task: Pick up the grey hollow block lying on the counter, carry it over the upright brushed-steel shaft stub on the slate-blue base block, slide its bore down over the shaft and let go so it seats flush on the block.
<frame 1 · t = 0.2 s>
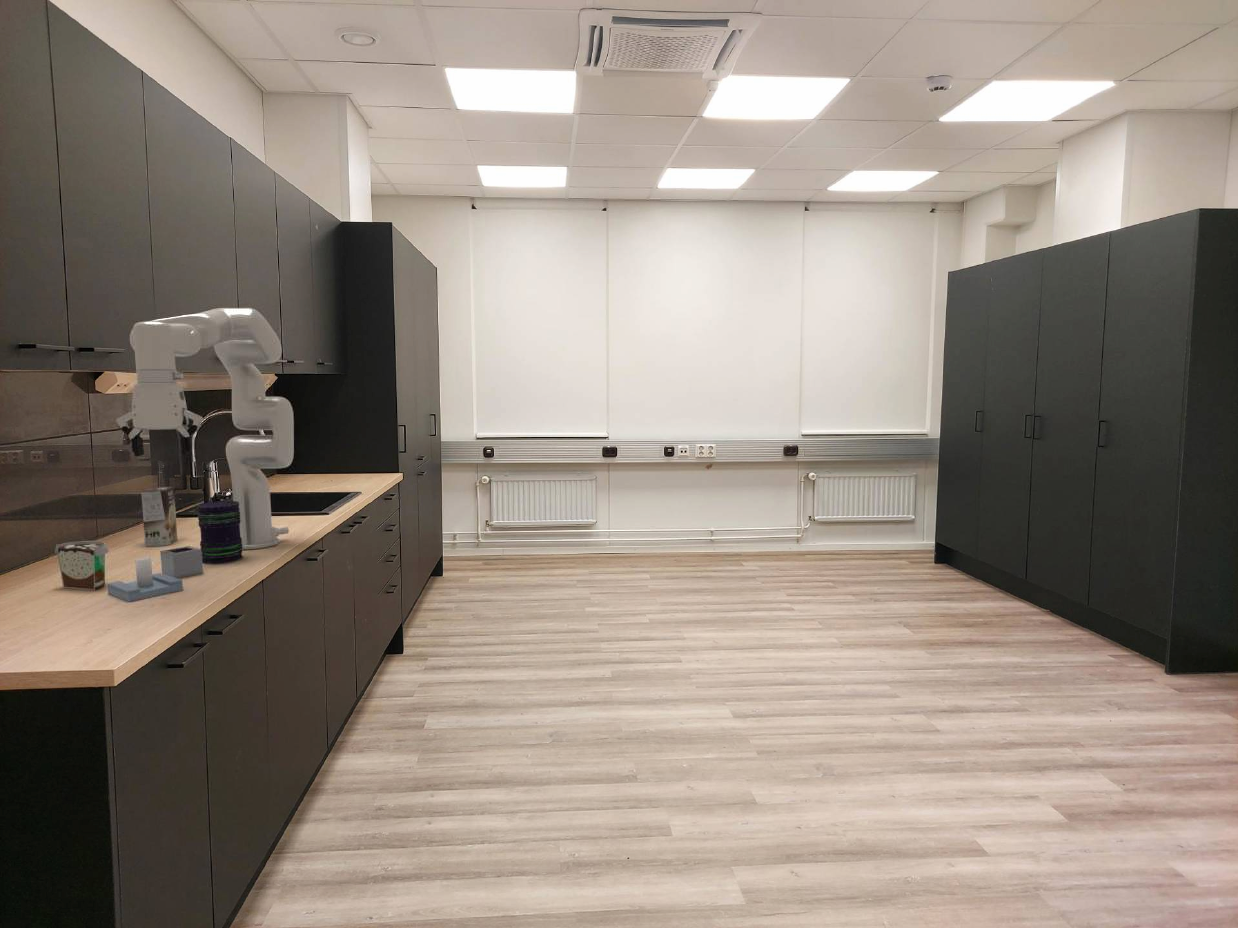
hand: (162, 455, 169), 31 cm above the table, tool pointing down, fingers open, 9 cm apart
grey hollow block: (182, 574, 184), on the table
shaft block: (145, 591, 169), on the table
coffee box: (161, 543, 220), on the table
food container: (91, 586, 175), on the table
dark blue barrel: (222, 560, 199), on the table
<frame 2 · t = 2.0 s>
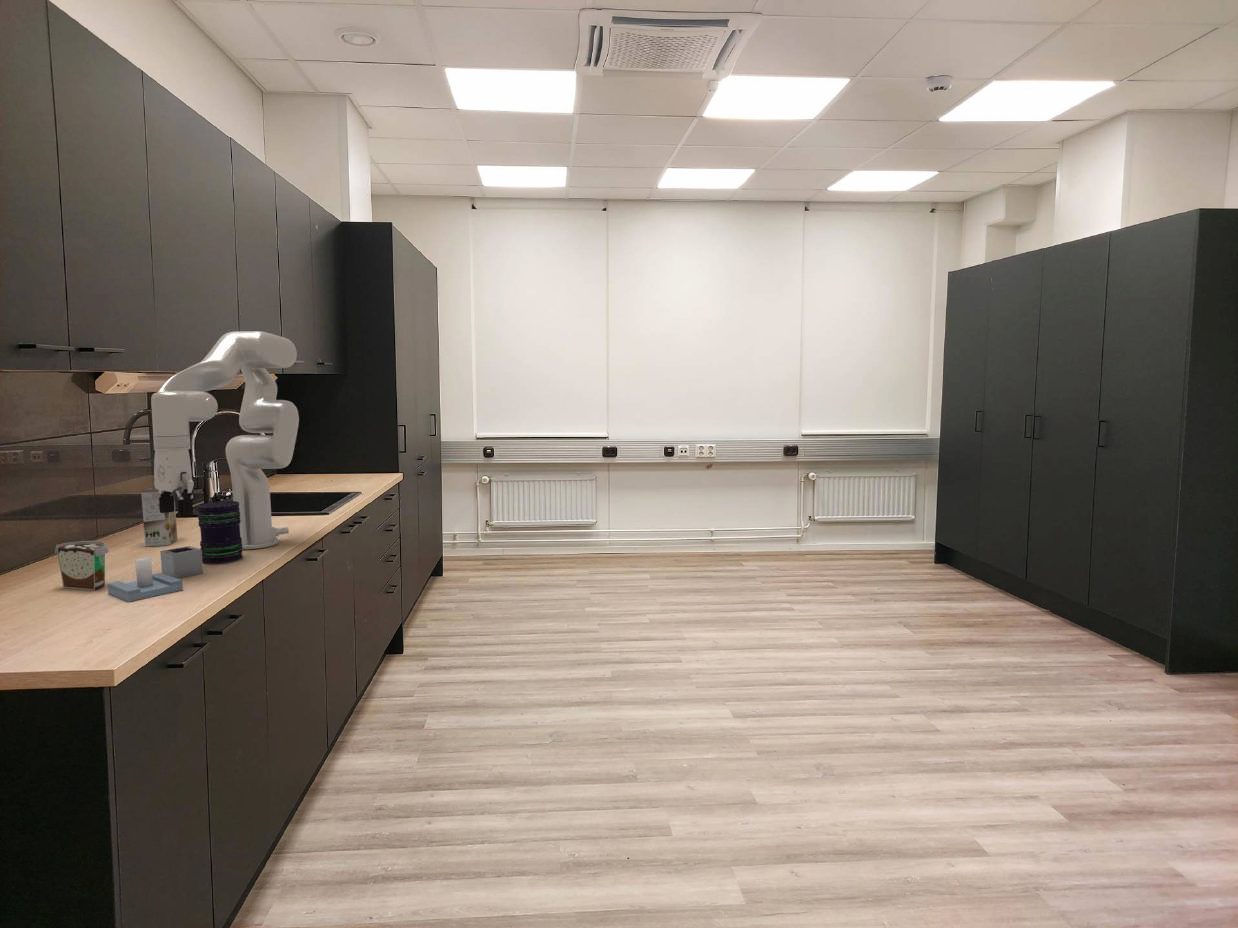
hand: (176, 514, 182), 15 cm above the table, tool pointing down, fingers open, 9 cm apart
nothing on the table moved.
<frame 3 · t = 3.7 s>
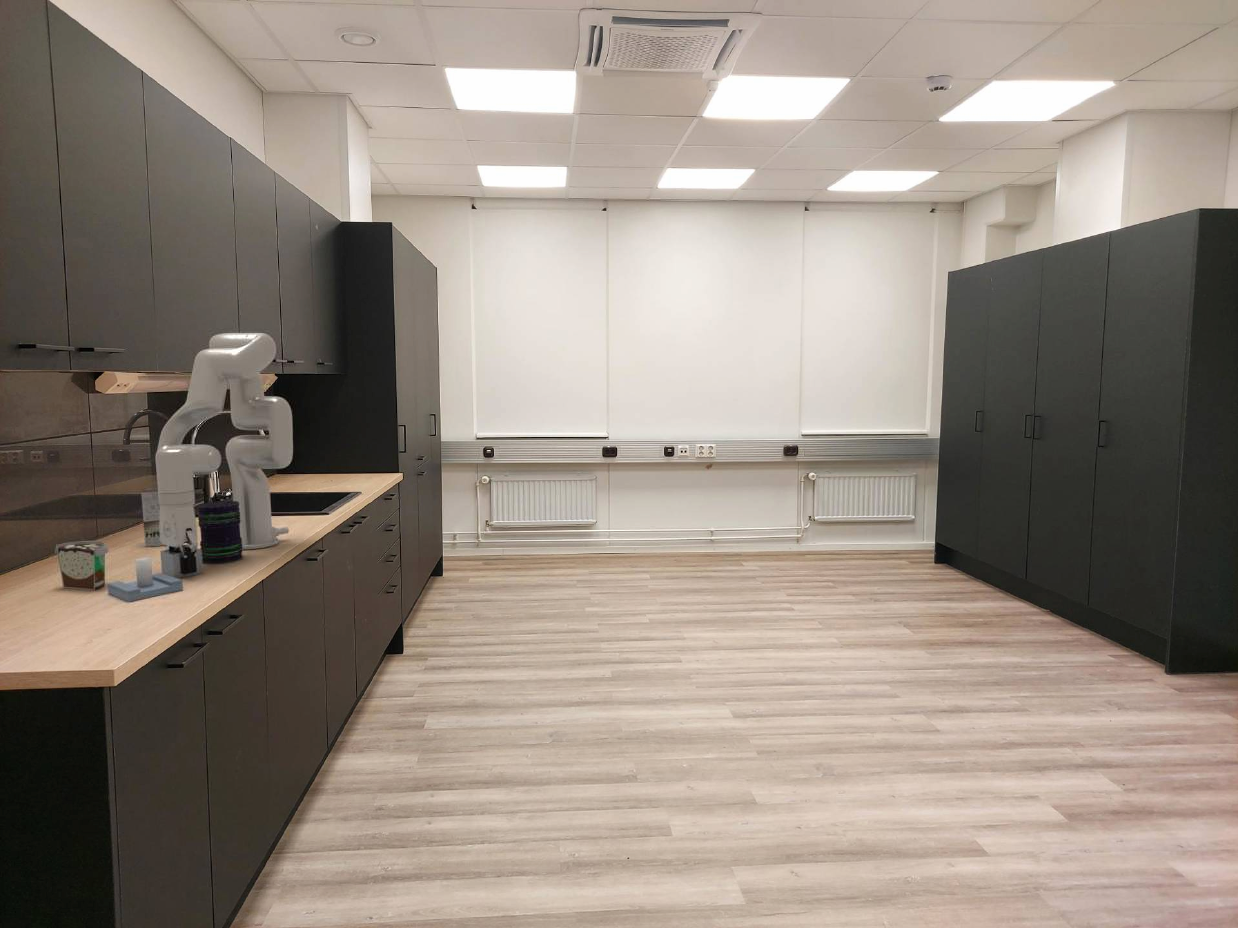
hand: (182, 570, 184), 1 cm above the table, tool pointing down, fingers closed on grey hollow block, 6 cm apart
grey hollow block: (182, 574, 184), on the table, touching gripper
everything else where it was.
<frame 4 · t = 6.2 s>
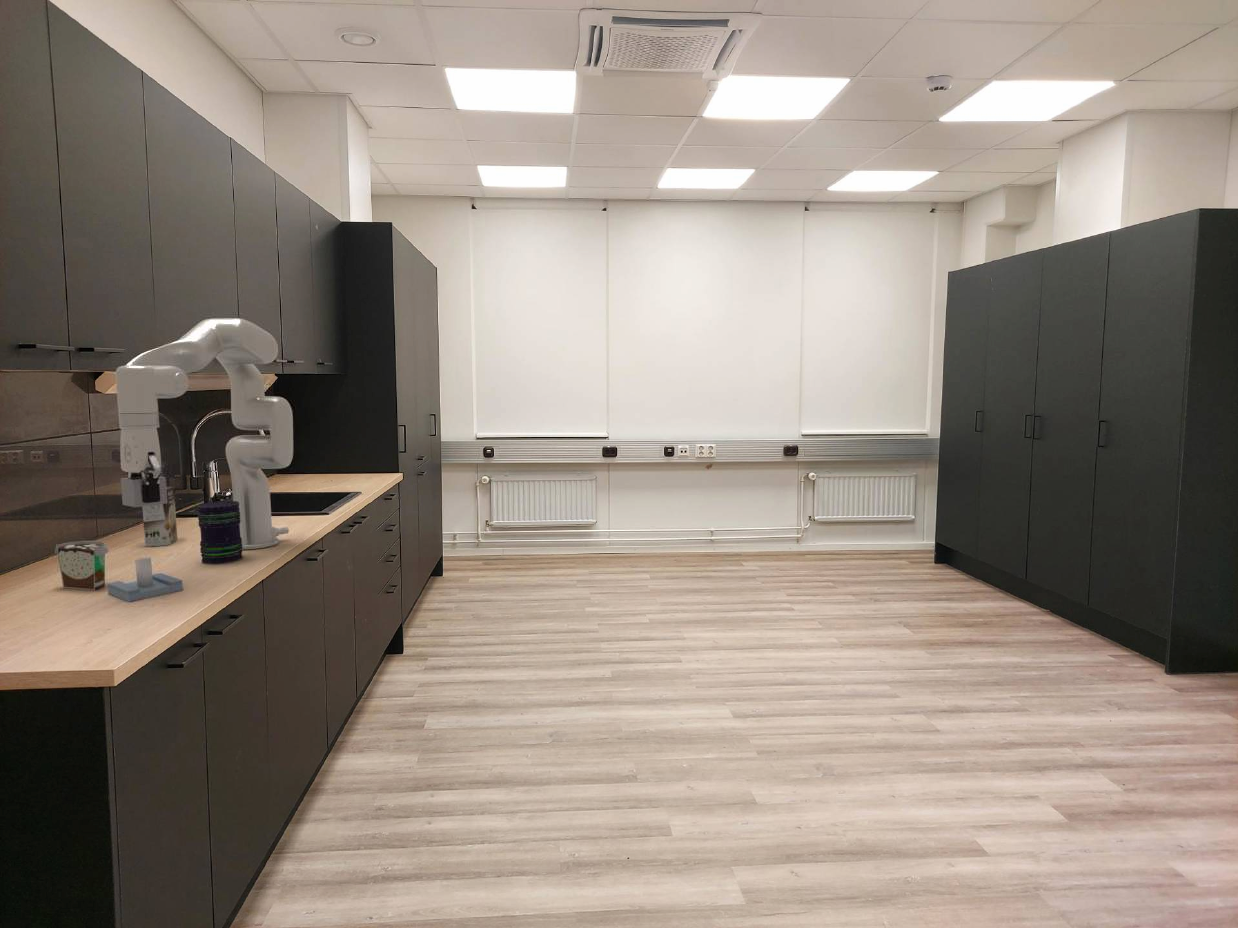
hand: (145, 500, 169), 20 cm above the table, tool pointing down, fingers closed on grey hollow block, 6 cm apart
grey hollow block: (145, 504, 169), point 20 cm above the table, touching gripper
everything else where it was.
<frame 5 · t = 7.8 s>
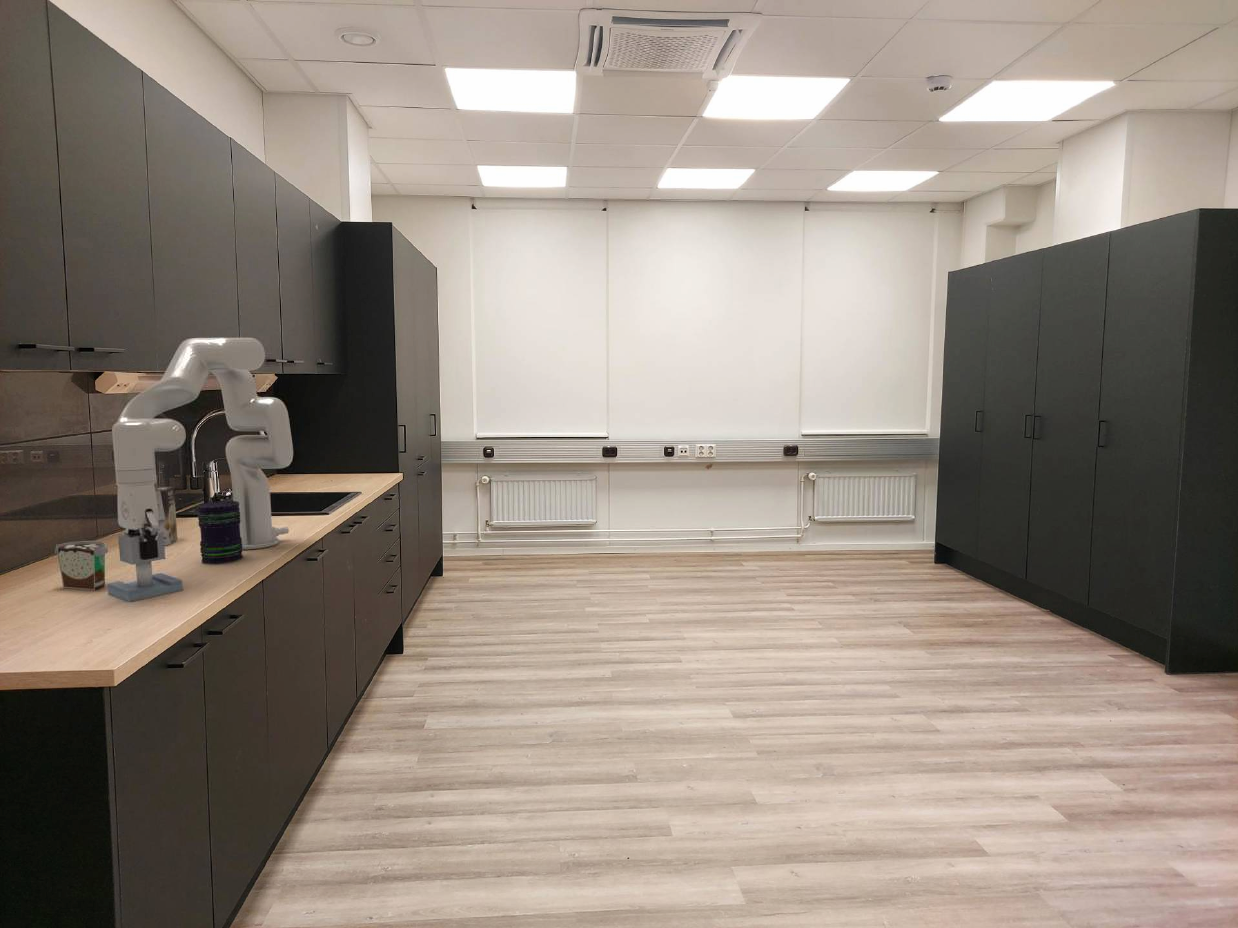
hand: (142, 555, 168), 8 cm above the table, tool pointing down, fingers closed on grey hollow block, 6 cm apart
grey hollow block: (142, 559, 168), point 7 cm above the table, touching gripper
everything else where it was.
when the fingers open (6 cm above the table, at t = 8.8 s): grey hollow block drops 2 cm, resting on shaft block.
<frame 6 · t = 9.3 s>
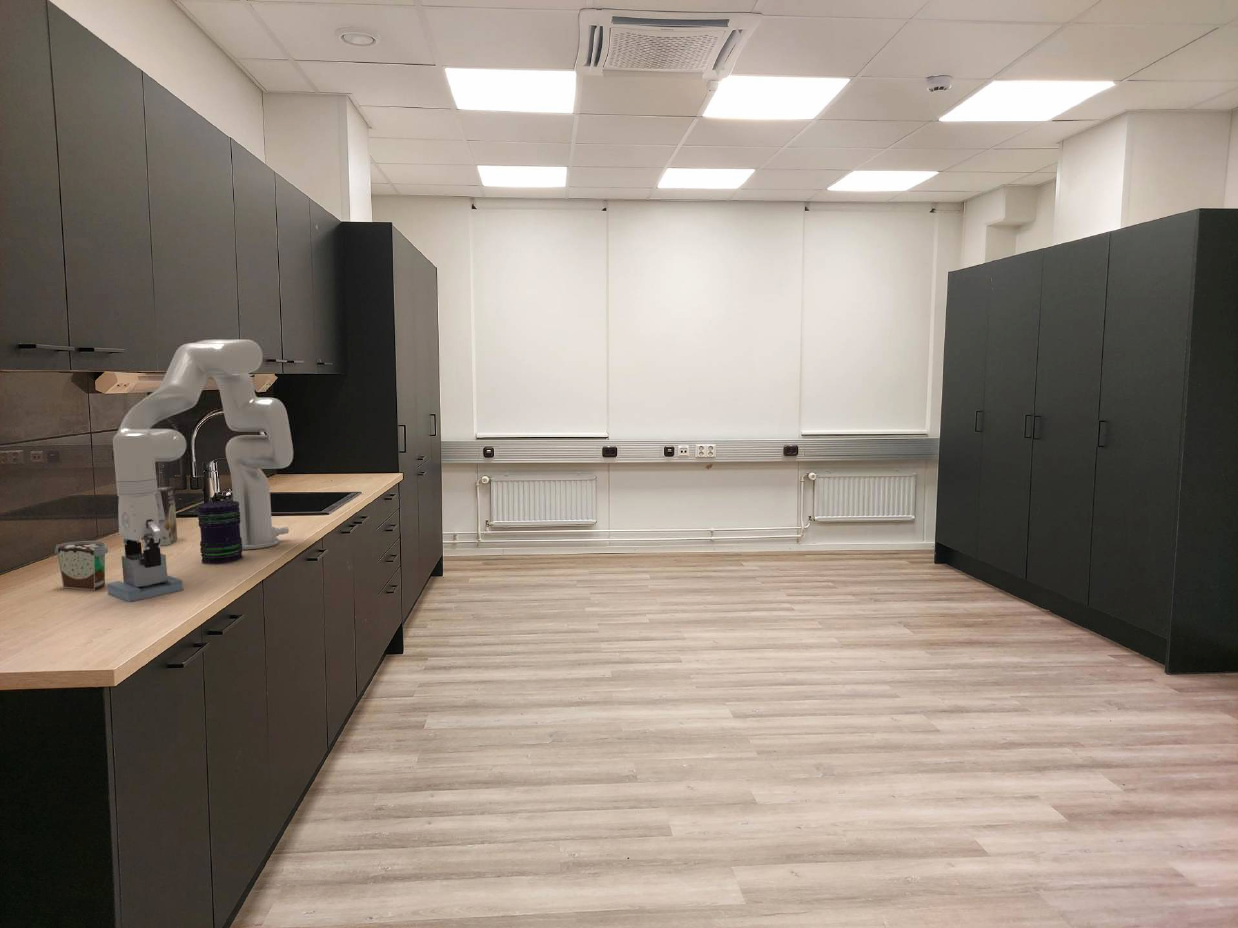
hand: (143, 563, 168), 7 cm above the table, tool pointing down, fingers open, 9 cm apart
grey hollow block: (145, 581, 169), point 2 cm above the table, touching shaft block
everything else where it was.
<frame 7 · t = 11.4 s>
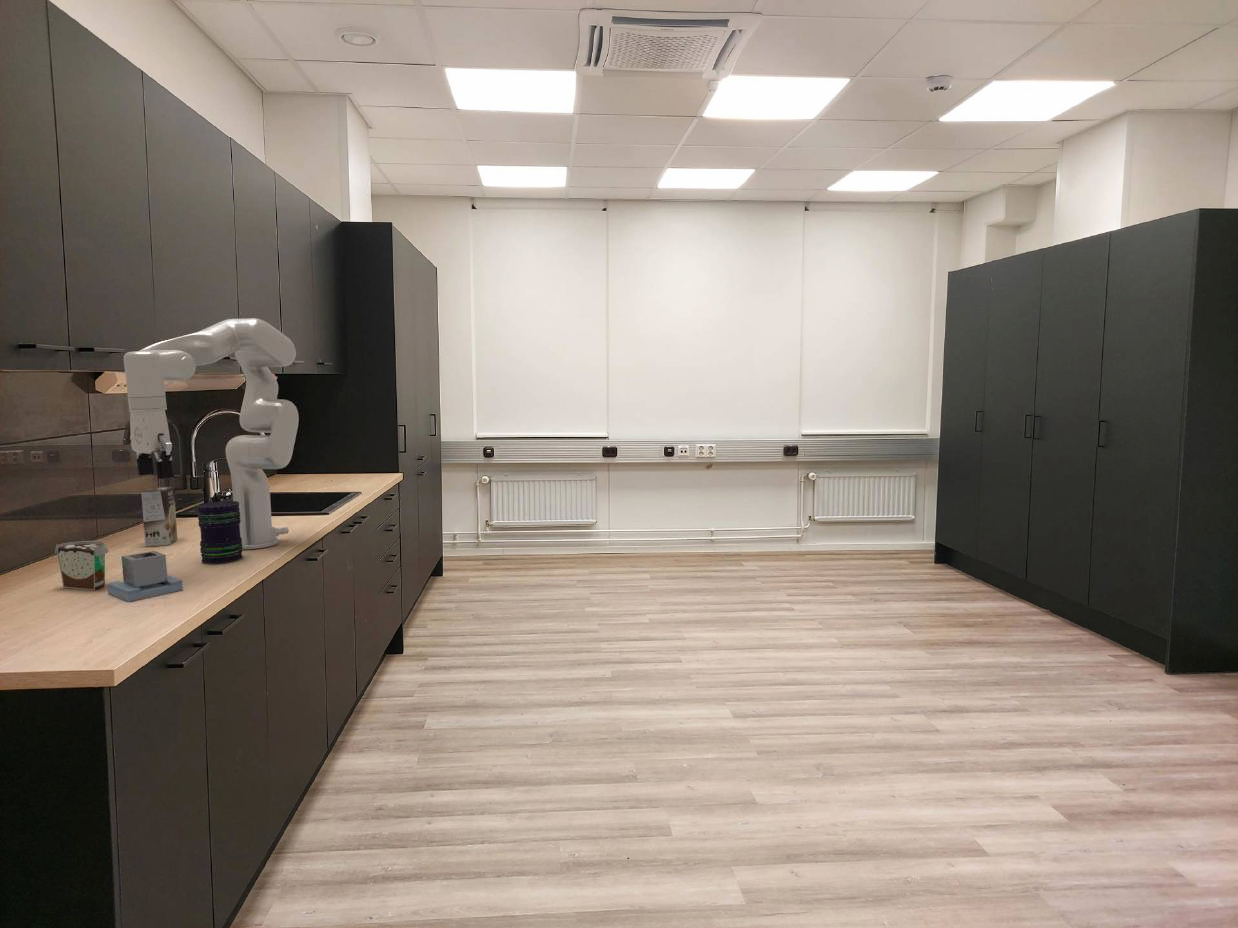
hand: (155, 476, 179), 25 cm above the table, tool pointing down, fingers open, 9 cm apart
nothing on the table moved.
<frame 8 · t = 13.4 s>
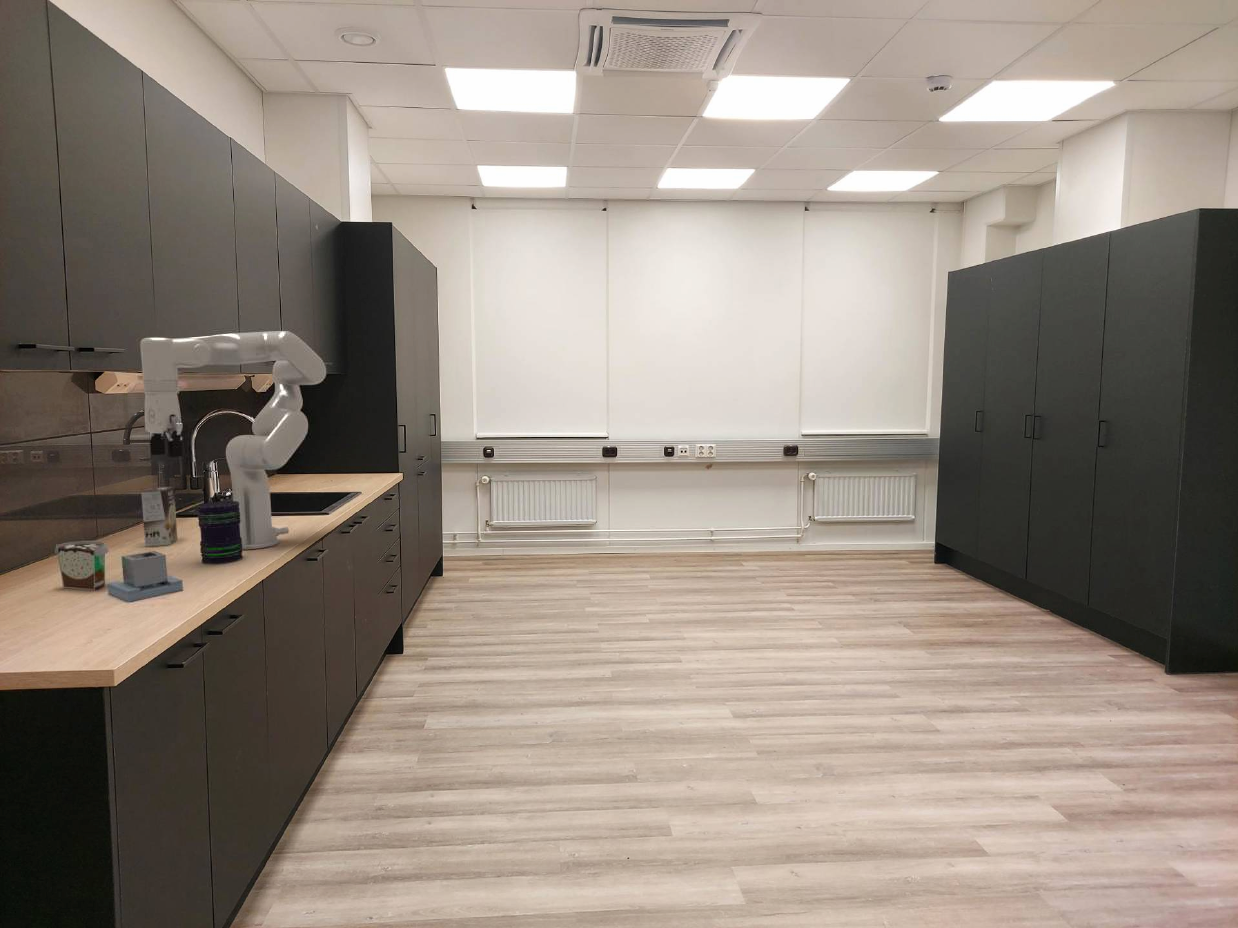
hand: (166, 455, 190), 28 cm above the table, tool pointing down, fingers open, 9 cm apart
nothing on the table moved.
at the end: grey hollow block 0.1 cm off-centre on the shaft block, point 2.3 cm above the shaft block's base; grey hollow block tilted 0°; the gripper is holding nothing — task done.
